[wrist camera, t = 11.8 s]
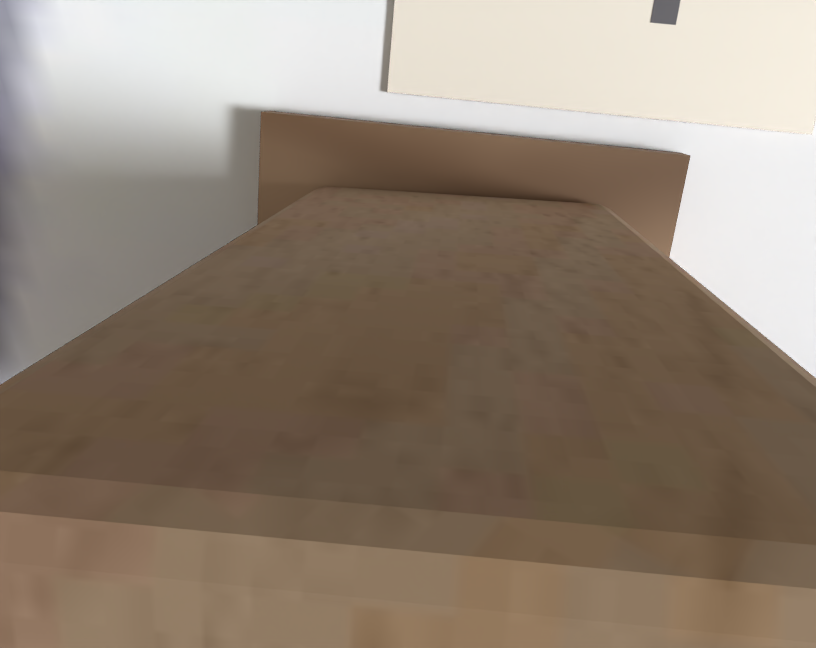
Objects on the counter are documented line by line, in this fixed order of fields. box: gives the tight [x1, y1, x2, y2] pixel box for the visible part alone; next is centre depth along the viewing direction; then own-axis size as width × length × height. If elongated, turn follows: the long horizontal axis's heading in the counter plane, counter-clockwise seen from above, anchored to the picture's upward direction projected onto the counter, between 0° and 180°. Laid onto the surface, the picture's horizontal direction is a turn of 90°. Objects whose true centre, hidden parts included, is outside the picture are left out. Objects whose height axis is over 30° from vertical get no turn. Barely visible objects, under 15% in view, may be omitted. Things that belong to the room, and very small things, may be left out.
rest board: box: [257, 111, 690, 257], centre depth 26 cm, size 14×14×1 cm
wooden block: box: [0, 186, 816, 648], centre depth 16 cm, size 10×10×20 cm
